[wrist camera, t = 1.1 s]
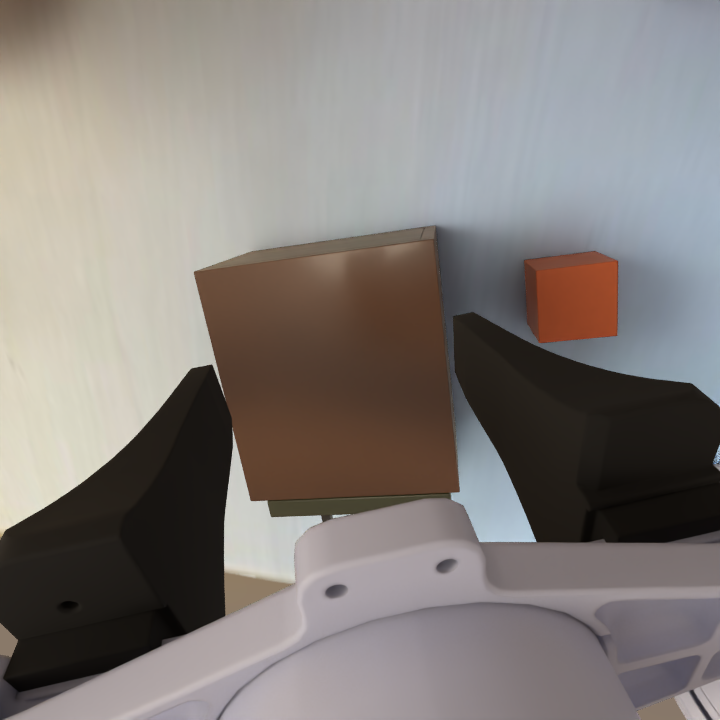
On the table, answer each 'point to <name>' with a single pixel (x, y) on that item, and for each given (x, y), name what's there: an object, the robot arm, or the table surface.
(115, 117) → the table surface
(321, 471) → the cabinet
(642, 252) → the table surface
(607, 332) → the block
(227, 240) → the table surface
